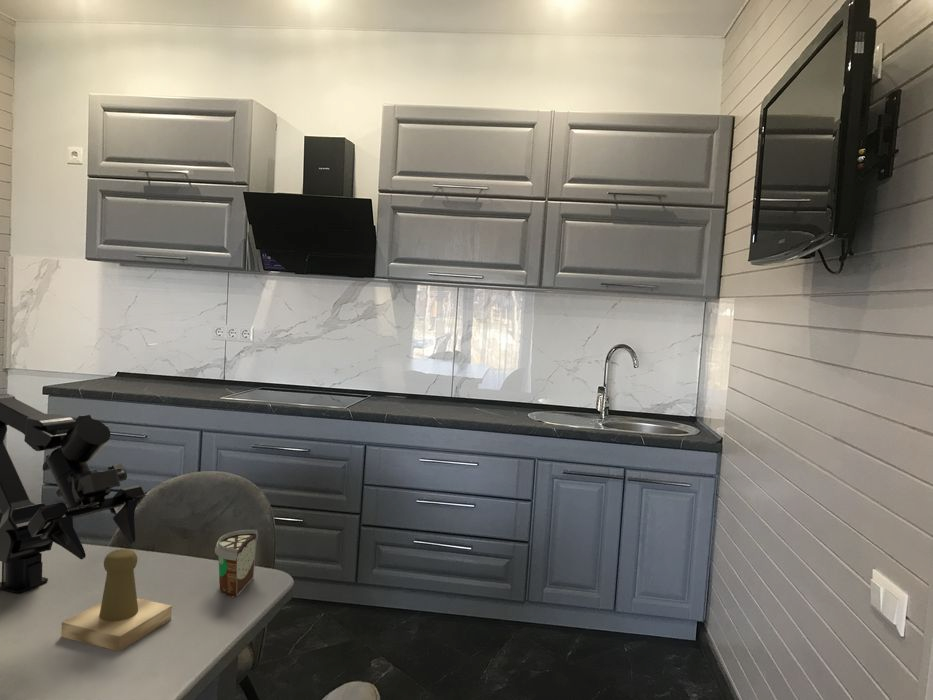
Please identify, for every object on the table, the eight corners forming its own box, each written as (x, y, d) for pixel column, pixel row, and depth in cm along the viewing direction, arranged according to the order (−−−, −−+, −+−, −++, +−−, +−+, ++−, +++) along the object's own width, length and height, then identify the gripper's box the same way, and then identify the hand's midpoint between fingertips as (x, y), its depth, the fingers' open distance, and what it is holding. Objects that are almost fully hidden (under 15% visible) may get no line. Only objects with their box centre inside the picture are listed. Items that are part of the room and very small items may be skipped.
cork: (106, 624, 110) (108, 561, 109) (93, 612, 114) (95, 550, 113) (144, 613, 114) (146, 552, 114) (130, 601, 118) (132, 542, 118)
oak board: (61, 636, 110) (61, 622, 110) (117, 606, 121) (117, 593, 121) (119, 651, 107) (119, 636, 107) (171, 619, 118) (171, 605, 118)
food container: (227, 572, 140) (229, 526, 139) (256, 574, 139) (258, 529, 139) (202, 597, 127) (204, 547, 127) (233, 600, 127) (236, 550, 126)
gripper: (40, 460, 108) (77, 541, 103) (142, 443, 124) (178, 512, 120) (11, 497, 112) (46, 576, 108) (114, 475, 128) (148, 543, 124)
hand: (109, 550), depth 115 cm, fingers open, 9 cm apart
